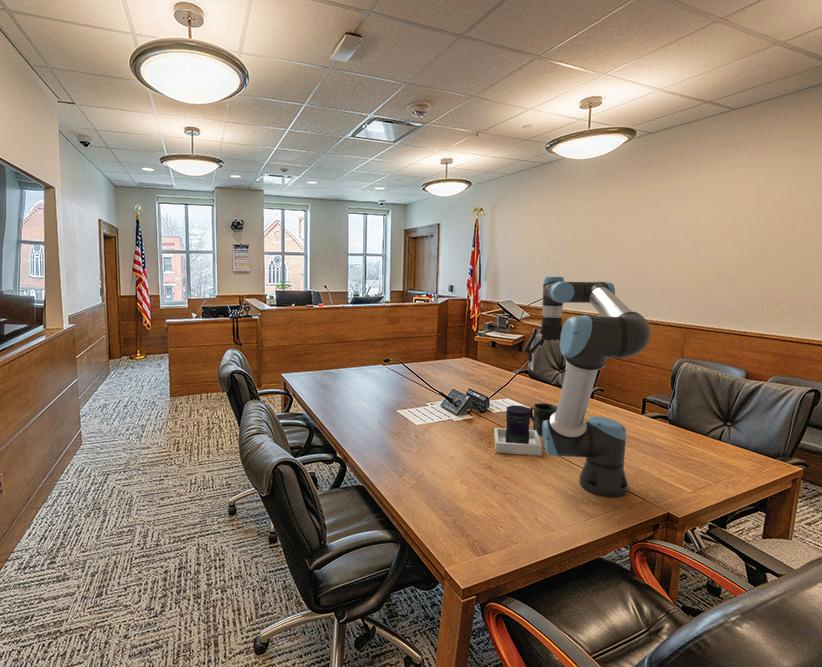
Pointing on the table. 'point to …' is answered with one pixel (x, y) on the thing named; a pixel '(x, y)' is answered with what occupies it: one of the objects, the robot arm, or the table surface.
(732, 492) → the table surface
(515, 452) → the tray
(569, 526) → the table surface
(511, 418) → the dark blue canister
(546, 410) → the mug
